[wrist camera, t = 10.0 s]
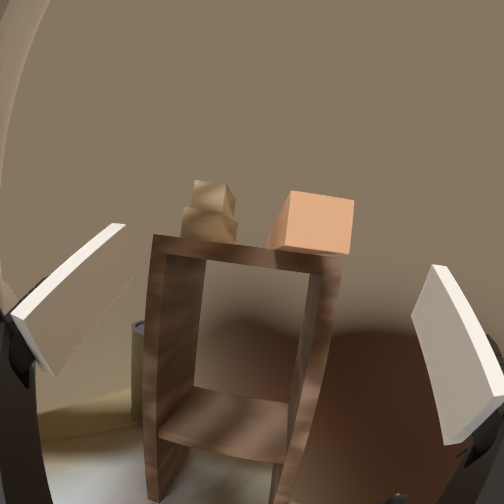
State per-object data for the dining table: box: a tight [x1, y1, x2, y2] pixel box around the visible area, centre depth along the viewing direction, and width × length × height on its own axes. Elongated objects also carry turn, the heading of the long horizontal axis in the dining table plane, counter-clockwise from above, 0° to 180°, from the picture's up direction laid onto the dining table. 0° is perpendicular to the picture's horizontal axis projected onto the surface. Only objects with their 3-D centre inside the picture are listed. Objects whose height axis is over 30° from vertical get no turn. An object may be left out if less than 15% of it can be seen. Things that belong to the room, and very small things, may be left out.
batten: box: [267, 191, 354, 254], centre depth 27 cm, size 28×3×2 cm, turn 179°
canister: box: [131, 320, 145, 425], centre depth 46 cm, size 11×10×20 cm
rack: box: [142, 180, 343, 504], centre depth 31 cm, size 16×14×38 cm
